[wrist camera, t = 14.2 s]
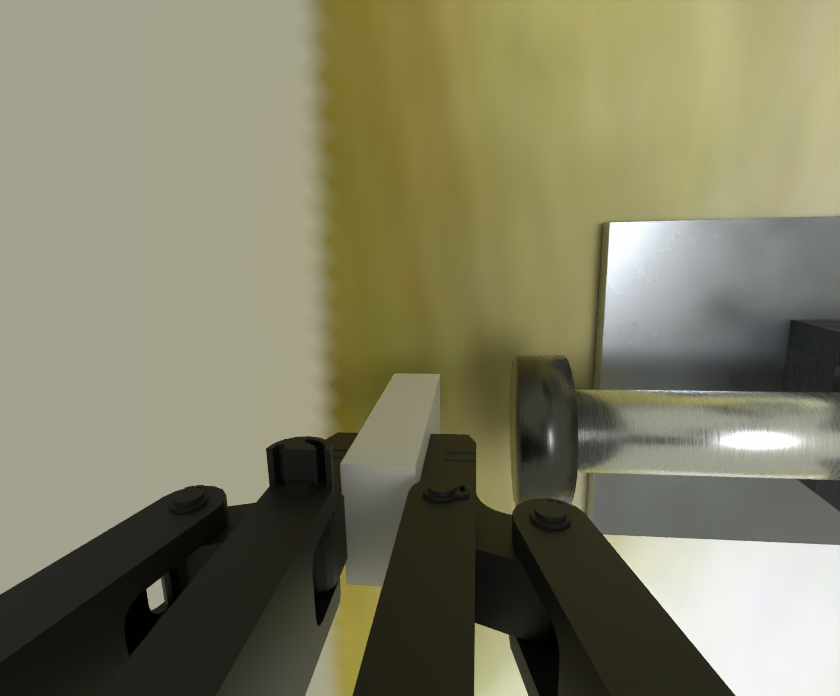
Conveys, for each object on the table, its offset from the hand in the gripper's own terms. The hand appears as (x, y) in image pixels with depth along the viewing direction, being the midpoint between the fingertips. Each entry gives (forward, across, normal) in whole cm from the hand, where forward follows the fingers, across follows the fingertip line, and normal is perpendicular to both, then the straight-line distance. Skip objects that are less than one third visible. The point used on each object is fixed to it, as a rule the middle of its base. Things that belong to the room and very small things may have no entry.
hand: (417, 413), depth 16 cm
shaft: (+1, +10, 0) cm, 10 cm away
